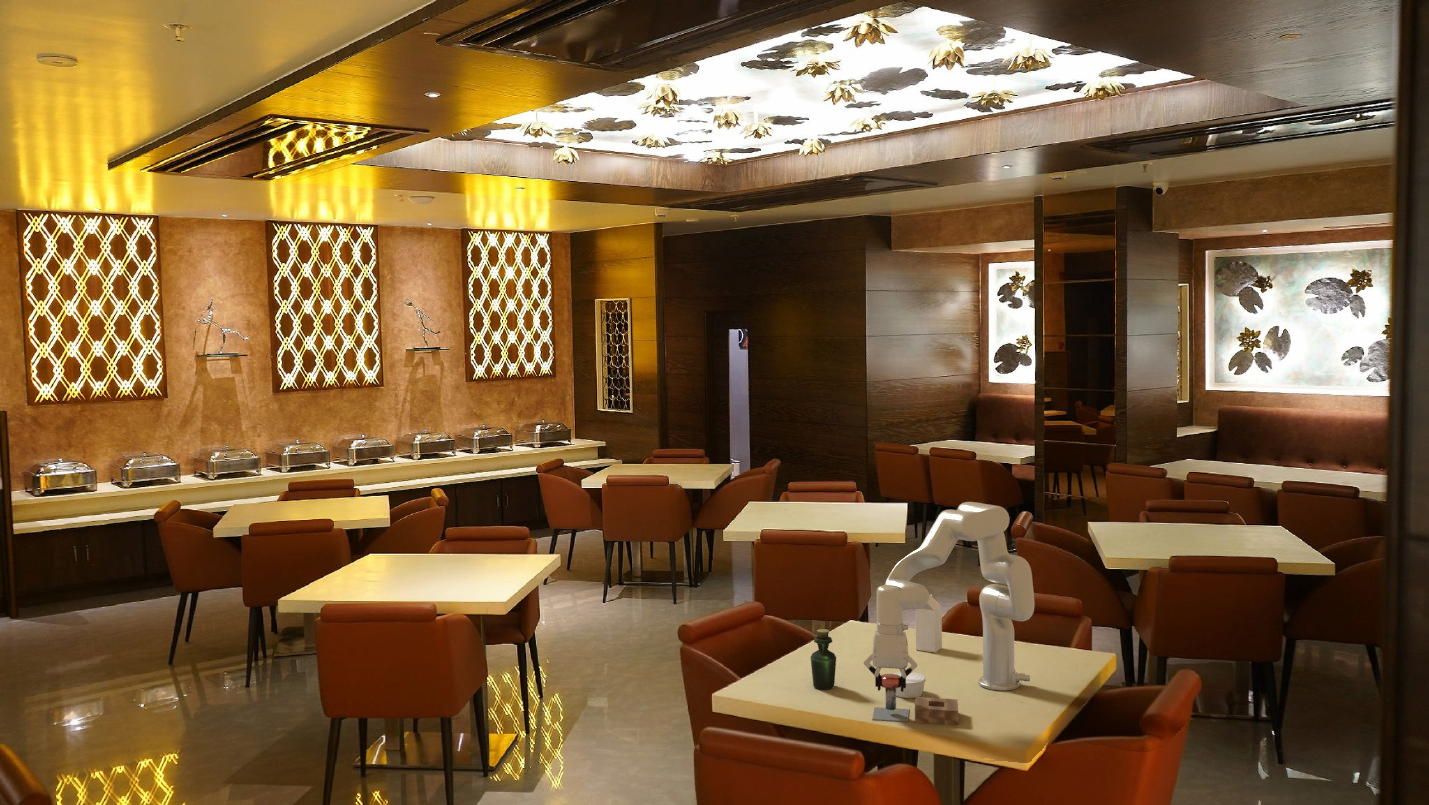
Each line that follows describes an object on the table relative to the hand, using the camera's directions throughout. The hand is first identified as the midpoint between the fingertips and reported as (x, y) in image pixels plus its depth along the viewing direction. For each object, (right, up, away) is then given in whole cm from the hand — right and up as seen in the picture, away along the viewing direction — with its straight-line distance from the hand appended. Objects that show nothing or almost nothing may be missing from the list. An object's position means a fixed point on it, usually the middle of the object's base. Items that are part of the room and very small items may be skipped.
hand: (890, 689), depth 297 cm
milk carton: (+25, -4, +65) cm, 70 cm away
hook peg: (0, -6, 0) cm, 6 cm away
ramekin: (+8, -7, +19) cm, 22 cm away
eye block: (+13, -7, -3) cm, 15 cm away
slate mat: (0, -8, 0) cm, 8 cm away
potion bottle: (-17, -7, +27) cm, 32 cm away
